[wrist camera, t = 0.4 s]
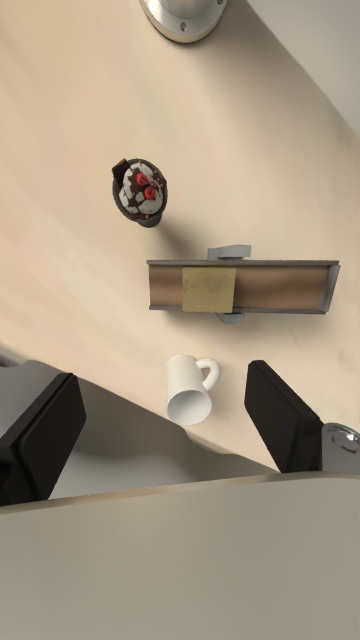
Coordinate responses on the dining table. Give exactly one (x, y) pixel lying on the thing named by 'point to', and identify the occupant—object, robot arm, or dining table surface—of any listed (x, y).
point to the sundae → (139, 191)
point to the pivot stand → (230, 254)
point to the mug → (189, 388)
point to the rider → (208, 289)
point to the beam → (253, 284)
